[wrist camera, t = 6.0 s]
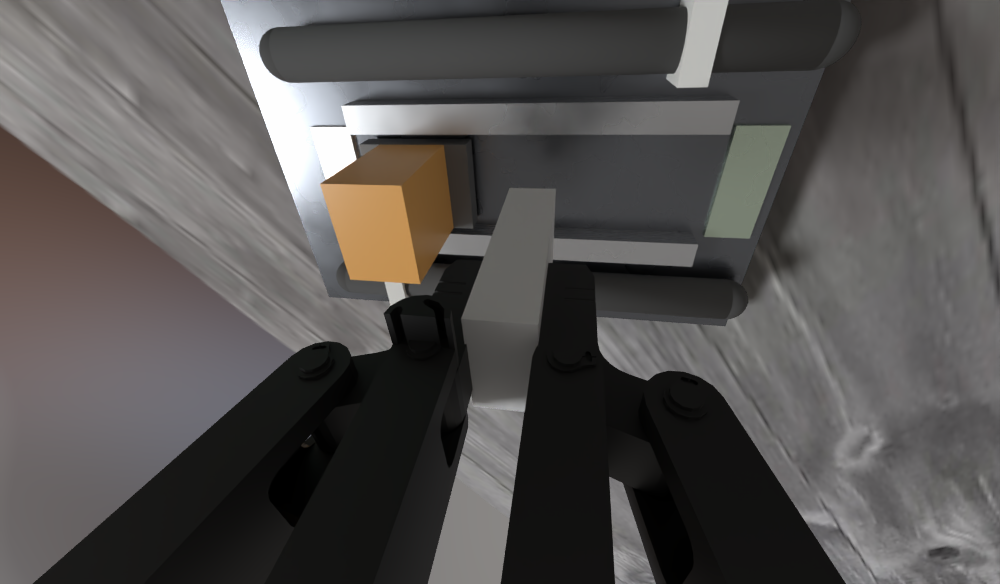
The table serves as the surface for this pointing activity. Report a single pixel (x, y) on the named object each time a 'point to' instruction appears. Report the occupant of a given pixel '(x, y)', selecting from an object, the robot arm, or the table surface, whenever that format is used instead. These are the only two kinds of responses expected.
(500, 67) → the pair of grey rails
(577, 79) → the panel
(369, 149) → the orange rectangular block
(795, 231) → the table surface
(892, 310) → the table surface
